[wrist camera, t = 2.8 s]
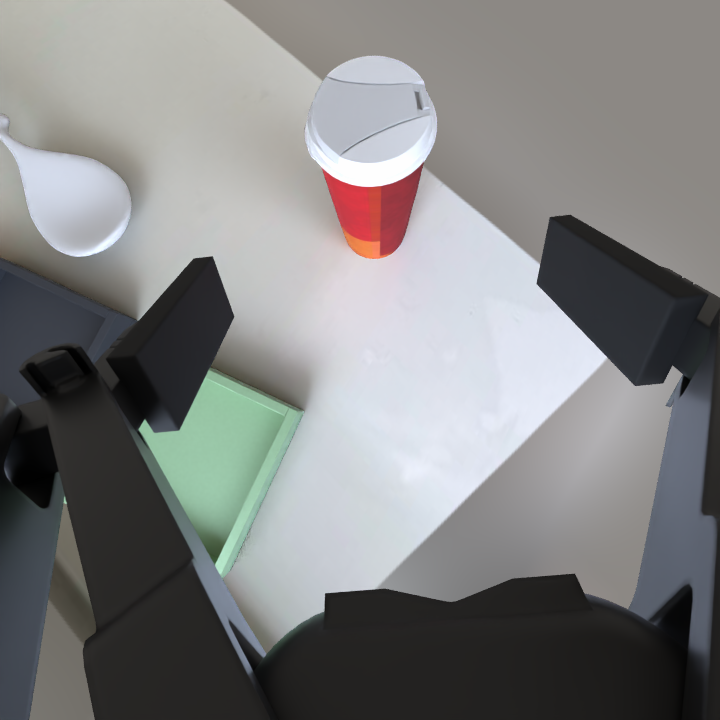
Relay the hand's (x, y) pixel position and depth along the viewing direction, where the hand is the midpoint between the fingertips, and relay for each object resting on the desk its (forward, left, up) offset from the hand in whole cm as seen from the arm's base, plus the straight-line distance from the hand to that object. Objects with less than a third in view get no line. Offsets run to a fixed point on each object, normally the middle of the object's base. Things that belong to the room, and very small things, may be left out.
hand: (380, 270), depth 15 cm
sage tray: (+11, +15, -18) cm, 26 cm away
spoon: (+41, -4, -18) cm, 45 cm away
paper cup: (+5, -10, -18) cm, 21 cm away
